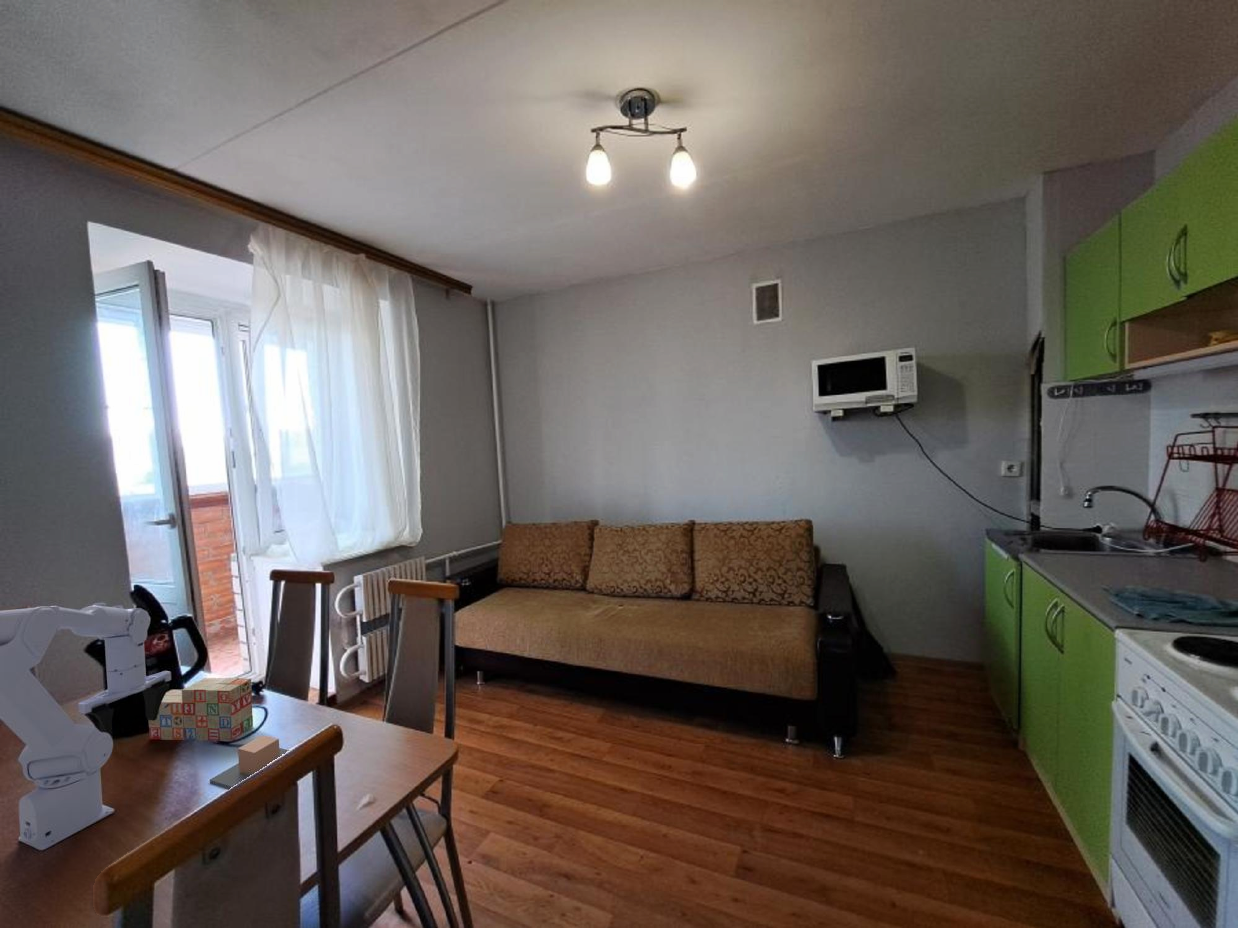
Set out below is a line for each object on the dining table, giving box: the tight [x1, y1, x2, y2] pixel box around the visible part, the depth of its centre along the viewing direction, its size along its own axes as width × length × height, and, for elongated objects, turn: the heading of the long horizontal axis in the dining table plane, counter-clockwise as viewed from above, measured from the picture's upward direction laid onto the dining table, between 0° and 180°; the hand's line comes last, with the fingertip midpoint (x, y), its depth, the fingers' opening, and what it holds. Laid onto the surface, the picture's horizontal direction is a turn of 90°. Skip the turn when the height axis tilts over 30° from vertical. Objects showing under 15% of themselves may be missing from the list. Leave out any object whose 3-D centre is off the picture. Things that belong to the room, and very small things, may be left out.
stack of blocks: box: [148, 677, 254, 742], centre depth 117 cm, size 21×6×12 cm, turn 86°
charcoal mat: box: [209, 747, 289, 790], centre depth 102 cm, size 12×12×1 cm
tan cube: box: [237, 734, 280, 775], centre depth 102 cm, size 5×5×5 cm
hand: (130, 729), depth 102 cm, fingers open, 7 cm apart
